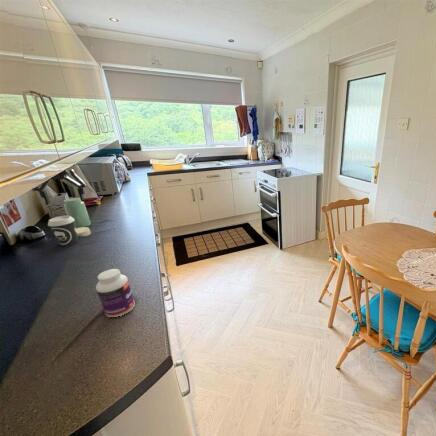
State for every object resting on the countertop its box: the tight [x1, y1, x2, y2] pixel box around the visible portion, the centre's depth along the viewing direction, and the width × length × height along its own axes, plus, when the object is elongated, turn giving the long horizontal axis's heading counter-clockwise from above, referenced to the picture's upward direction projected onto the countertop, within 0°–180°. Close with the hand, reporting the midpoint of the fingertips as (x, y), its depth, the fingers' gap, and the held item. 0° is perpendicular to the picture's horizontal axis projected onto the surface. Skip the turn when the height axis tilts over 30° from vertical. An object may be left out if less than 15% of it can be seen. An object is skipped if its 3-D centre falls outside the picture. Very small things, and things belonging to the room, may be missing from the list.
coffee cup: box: [47, 215, 79, 247], centre depth 114 cm, size 10×10×15 cm
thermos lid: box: [76, 226, 91, 237], centre depth 127 cm, size 9×9×3 cm
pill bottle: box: [95, 268, 136, 318], centre depth 74 cm, size 8×8×14 cm
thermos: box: [63, 197, 92, 228], centre depth 138 cm, size 9×9×16 cm
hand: (66, 201), depth 120 cm, fingers open, 13 cm apart
